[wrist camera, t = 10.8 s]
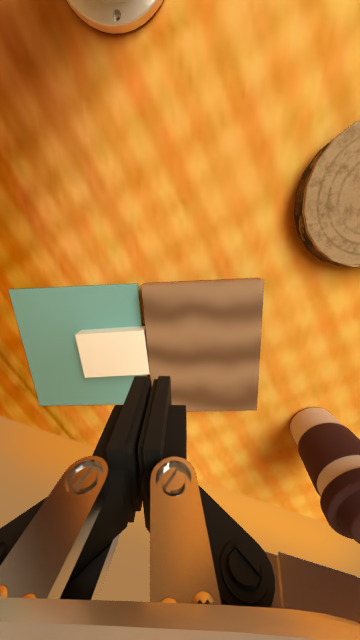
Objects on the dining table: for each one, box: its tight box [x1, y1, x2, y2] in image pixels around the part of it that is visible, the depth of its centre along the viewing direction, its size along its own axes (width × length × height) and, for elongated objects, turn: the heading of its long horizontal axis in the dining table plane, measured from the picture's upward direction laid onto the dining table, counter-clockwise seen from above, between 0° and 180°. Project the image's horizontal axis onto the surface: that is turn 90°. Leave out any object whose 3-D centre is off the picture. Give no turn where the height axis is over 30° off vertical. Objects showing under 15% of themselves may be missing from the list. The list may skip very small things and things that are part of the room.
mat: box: [9, 283, 148, 406], centre depth 35 cm, size 20×19×1 cm
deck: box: [141, 278, 264, 412], centre depth 33 cm, size 20×16×2 cm
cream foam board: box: [75, 326, 150, 378], centre depth 34 cm, size 7×10×2 cm
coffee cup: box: [290, 408, 360, 544], centre depth 31 cm, size 10×10×15 cm
